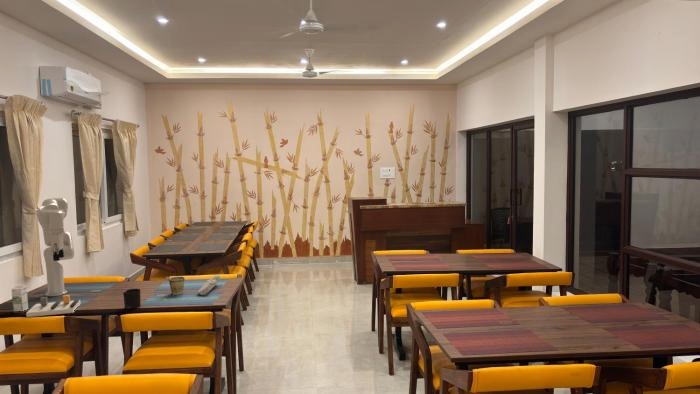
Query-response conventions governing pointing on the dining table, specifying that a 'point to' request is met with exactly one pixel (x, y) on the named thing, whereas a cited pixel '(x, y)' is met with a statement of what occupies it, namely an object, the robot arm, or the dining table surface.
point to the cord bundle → (60, 301)
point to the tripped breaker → (66, 299)
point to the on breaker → (44, 301)
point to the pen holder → (132, 298)
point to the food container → (208, 285)
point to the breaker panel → (46, 309)
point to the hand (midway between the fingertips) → (58, 259)
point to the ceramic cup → (177, 285)
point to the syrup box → (19, 298)
